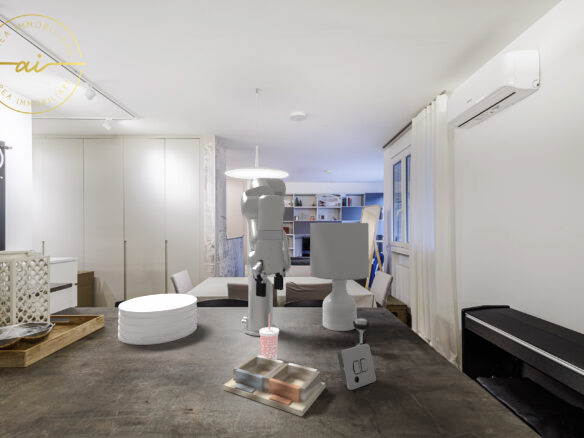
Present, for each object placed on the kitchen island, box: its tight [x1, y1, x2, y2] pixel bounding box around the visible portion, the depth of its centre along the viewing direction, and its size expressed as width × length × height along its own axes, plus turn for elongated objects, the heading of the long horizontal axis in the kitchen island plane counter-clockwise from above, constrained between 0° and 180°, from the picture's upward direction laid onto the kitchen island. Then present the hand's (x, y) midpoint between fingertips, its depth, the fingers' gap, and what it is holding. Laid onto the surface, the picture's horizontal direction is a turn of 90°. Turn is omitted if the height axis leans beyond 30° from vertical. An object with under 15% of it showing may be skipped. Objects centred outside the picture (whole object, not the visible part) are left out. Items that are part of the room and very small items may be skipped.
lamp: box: [309, 222, 370, 332], centre depth 123 cm, size 24×24×42 cm
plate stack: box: [117, 293, 198, 346], centre depth 116 cm, size 28×28×12 cm
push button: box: [353, 317, 370, 346], centre depth 97 cm, size 7×5×10 cm
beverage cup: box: [259, 314, 280, 360], centre depth 91 cm, size 6×6×14 cm
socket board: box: [222, 354, 326, 417], centre depth 74 cm, size 22×13×4 cm, turn 61°
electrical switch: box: [336, 343, 377, 391], centre depth 78 cm, size 9×5×9 cm, turn 121°
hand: (270, 292), depth 89 cm, fingers open, 9 cm apart
